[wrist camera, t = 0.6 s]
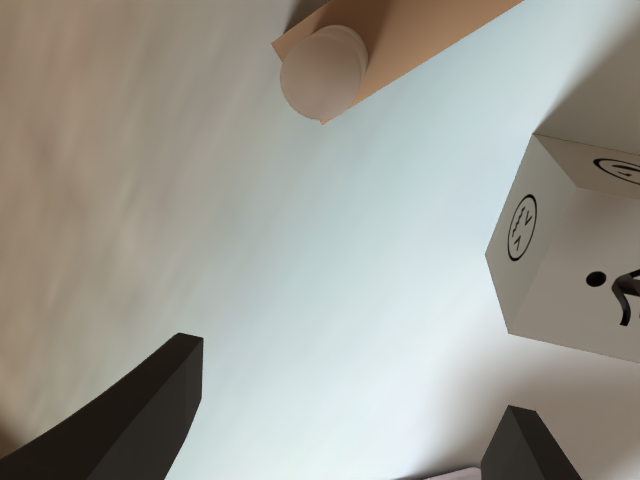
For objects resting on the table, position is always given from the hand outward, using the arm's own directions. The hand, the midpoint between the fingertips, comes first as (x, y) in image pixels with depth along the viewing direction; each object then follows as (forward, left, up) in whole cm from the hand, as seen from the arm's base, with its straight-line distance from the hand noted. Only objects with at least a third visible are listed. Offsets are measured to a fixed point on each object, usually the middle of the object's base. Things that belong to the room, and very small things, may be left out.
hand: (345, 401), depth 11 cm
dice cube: (-3, -7, -10) cm, 12 cm away
